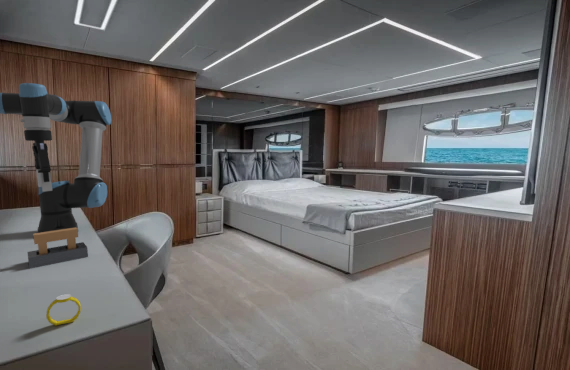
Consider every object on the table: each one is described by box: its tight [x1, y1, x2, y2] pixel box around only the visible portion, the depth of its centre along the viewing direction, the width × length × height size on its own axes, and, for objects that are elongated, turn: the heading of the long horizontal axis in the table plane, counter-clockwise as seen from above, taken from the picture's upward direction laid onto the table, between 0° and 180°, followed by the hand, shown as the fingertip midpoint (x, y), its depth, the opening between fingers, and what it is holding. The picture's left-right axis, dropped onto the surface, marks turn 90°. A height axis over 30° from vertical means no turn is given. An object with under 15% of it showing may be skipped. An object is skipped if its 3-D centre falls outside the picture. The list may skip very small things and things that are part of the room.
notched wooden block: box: [32, 227, 79, 255], centre depth 105 cm, size 12×3×10 cm, turn 132°
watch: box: [45, 293, 82, 326], centre depth 66 cm, size 6×3×6 cm, turn 122°
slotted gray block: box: [27, 241, 89, 269], centre depth 106 cm, size 16×8×4 cm, turn 132°
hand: (45, 188), depth 111 cm, fingers open, 13 cm apart
